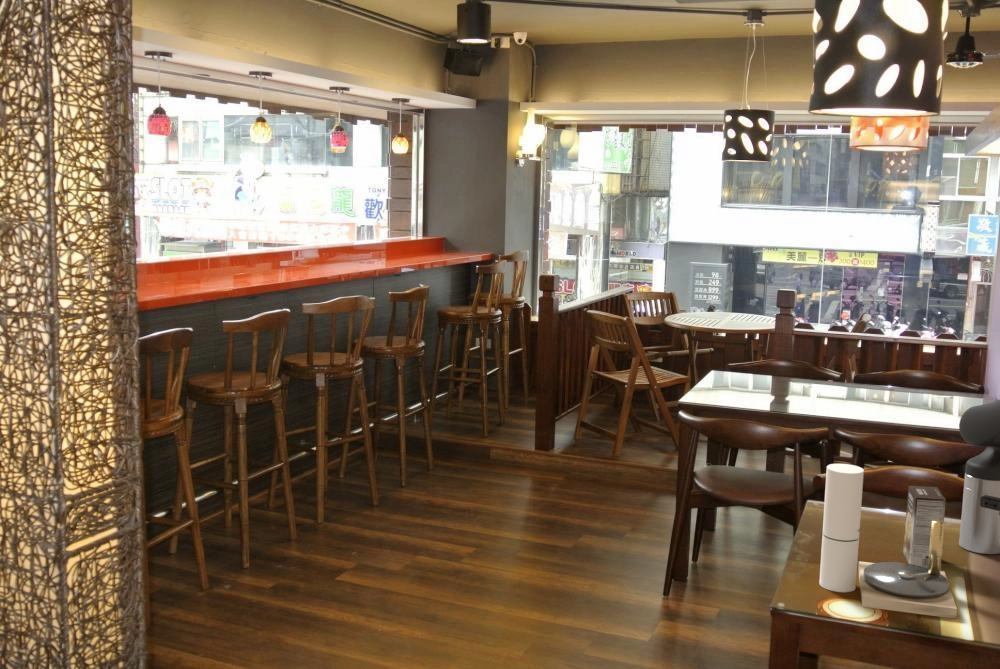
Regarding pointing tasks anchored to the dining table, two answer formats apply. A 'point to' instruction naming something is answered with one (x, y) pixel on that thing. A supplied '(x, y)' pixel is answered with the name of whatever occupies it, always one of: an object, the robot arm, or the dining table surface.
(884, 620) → the dining table surface
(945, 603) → the stand
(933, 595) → the crank wheel
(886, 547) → the dining table surface
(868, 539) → the dining table surface
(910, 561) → the coffee box
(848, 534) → the cylindrical container
